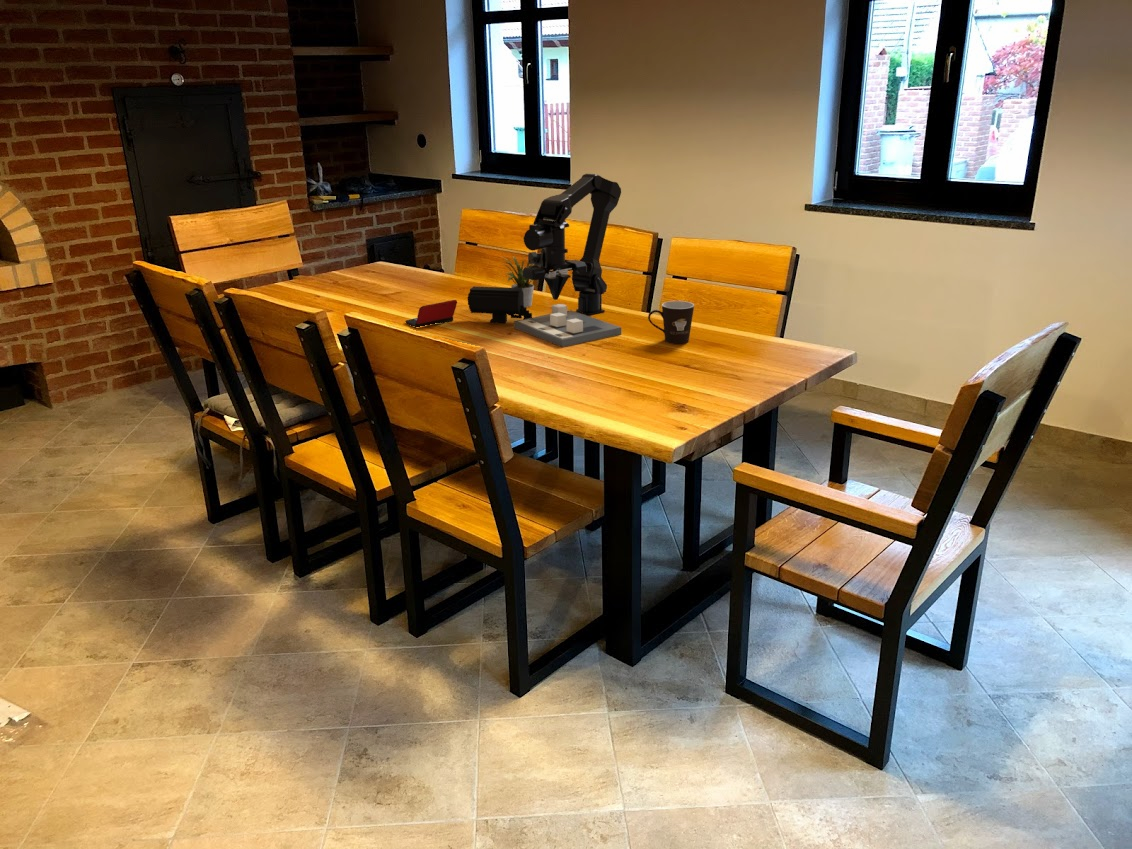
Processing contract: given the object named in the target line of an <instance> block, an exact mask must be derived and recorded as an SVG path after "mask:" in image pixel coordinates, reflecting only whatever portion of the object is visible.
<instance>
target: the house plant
mask: <svg viewBox="0 0 1132 849" xmlns="http://www.w3.org/2000/svg"><path fill="white" fill-rule="evenodd" d="M525 255H526V253H525V254H523V256H522V258H524V257H525ZM501 258H502V259H505V260H506V261H505V263H506V264H507V265H505V264H504V266H506V267H507V268H508V269H509V271H510V272H508V273H506V275H507V276H508V279H507V282H509V281H512V282H513V283H514V284H512V285H511V286H510V288H522V290H523V293H524V307H525V308H530V307H531V306H532V303H533V295H534V289H535V285H534V284H532V282H533V281H534V280H531V279H528V278H524V277H523V269H524V263H525V261H526V260H528V256H527V257H526V258H525V259H522V260H521V265H520V264H519V262H518V260H517V258H516V257H515V256H514V255H512V256H511V259H513V261H514V264H515V266H516V268H515V267H514V265H513V264H512V263H511V261H510V260H509V259H507V258H505V257H502V256H501ZM508 265H509V266H510V267H511V268H512V269H511V268H510V267H509V266H508ZM530 266H534V264H529V261H528V262H527V264H526V267H530ZM515 274H516V275H515Z"/></svg>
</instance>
